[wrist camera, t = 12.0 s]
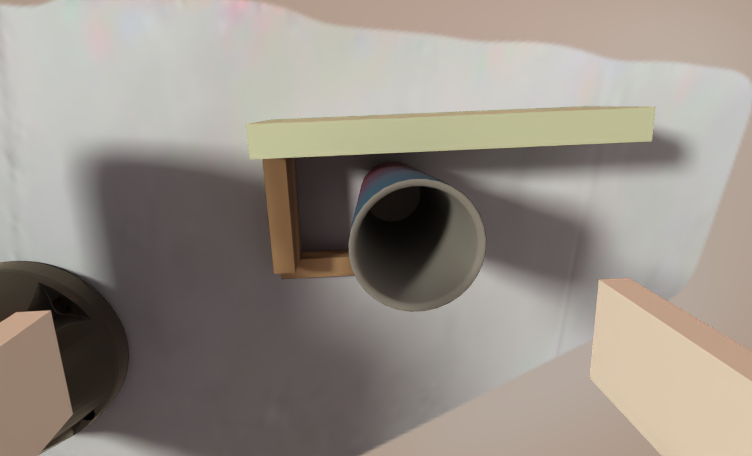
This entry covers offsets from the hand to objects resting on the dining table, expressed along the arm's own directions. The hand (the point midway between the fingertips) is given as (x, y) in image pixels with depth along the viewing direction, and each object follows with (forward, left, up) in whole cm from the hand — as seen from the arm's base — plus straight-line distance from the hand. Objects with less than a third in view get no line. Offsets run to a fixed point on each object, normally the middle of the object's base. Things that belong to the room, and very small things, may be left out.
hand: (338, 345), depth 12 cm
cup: (+3, -1, -27) cm, 27 cm away
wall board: (+7, +4, -27) cm, 28 cm away
